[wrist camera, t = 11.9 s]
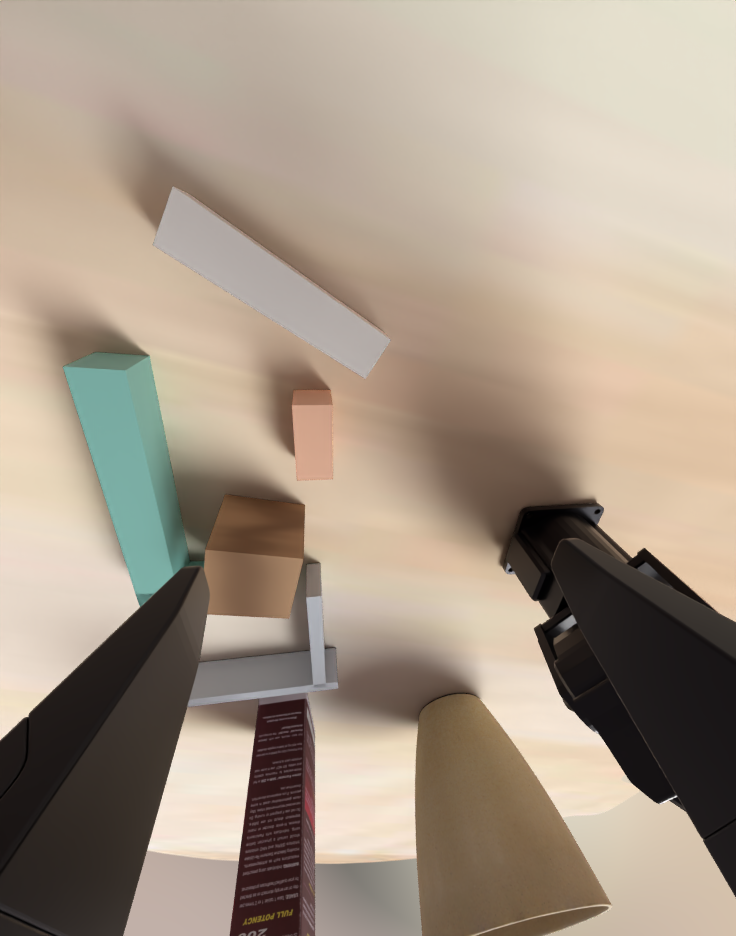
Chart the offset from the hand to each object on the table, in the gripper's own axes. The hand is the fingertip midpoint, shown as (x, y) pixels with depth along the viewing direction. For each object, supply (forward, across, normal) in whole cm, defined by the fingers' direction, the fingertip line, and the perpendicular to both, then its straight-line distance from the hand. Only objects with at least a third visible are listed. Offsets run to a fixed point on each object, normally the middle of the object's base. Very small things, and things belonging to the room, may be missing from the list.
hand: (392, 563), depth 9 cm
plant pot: (+13, -12, +38) cm, 42 cm away
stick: (+13, +3, -5) cm, 15 cm away
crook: (+13, +8, +6) cm, 17 cm away
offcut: (+13, +2, +2) cm, 13 cm away
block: (+13, +6, +10) cm, 17 cm away
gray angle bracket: (+13, +7, +19) cm, 24 cm away
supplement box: (+13, +6, +34) cm, 37 cm away
